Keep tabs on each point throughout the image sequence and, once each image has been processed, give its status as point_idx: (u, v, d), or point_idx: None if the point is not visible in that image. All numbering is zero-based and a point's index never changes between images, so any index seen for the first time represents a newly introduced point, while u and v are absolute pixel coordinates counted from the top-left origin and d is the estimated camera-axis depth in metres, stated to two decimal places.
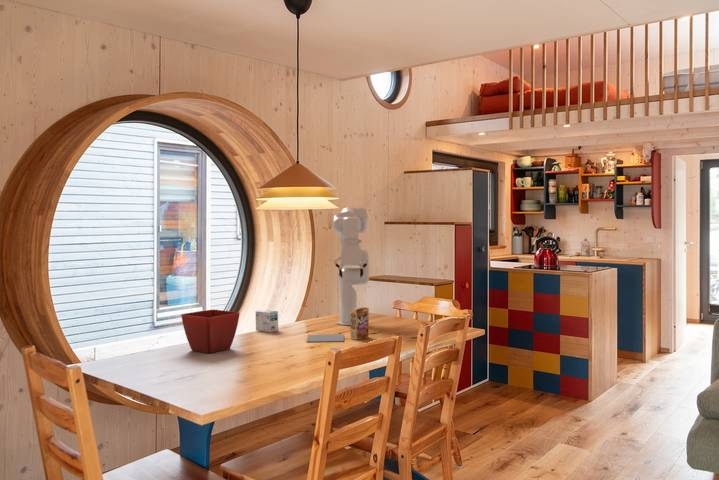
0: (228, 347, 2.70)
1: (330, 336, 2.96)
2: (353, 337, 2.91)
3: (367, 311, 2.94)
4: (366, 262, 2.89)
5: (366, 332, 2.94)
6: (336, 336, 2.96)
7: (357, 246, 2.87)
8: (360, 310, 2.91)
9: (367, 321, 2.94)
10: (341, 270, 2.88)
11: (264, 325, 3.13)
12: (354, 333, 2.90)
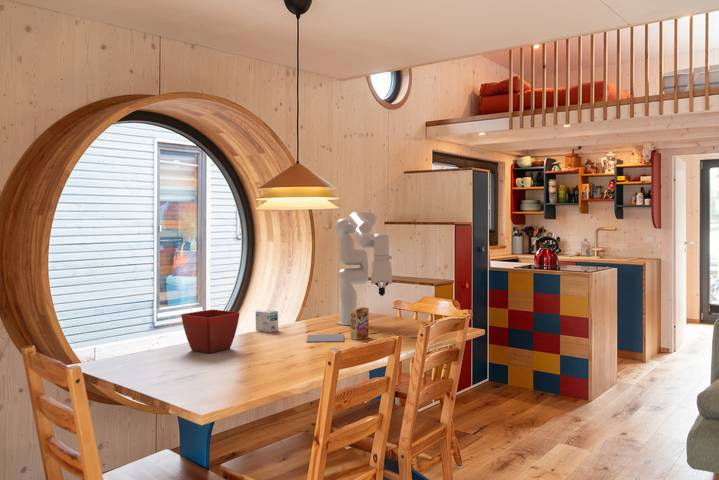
0: (228, 347, 2.70)
1: (330, 336, 2.96)
2: (353, 337, 2.91)
3: (367, 311, 2.94)
4: (389, 282, 2.92)
5: (366, 332, 2.94)
6: (336, 336, 2.96)
7: (388, 262, 2.91)
8: (360, 310, 2.91)
9: (367, 321, 2.94)
10: (381, 289, 2.91)
11: (264, 325, 3.13)
12: (354, 333, 2.90)
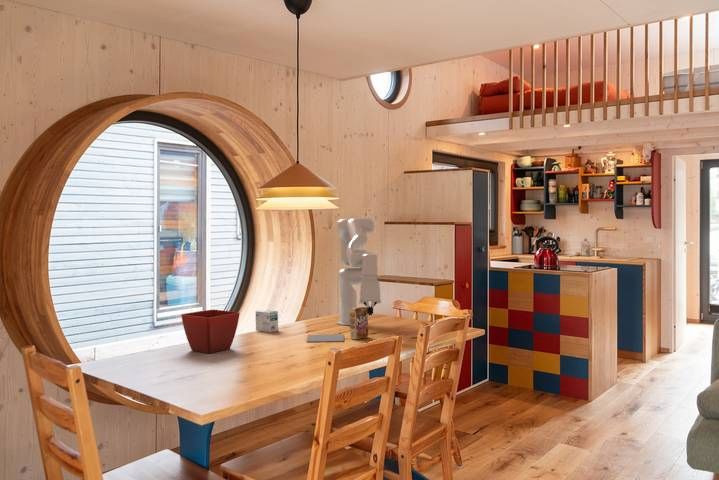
0: (228, 347, 2.70)
1: (330, 336, 2.96)
2: (353, 337, 2.91)
3: (366, 310, 2.95)
4: (377, 302, 2.93)
5: (366, 331, 2.94)
6: (336, 336, 2.96)
7: (376, 282, 2.91)
8: (359, 309, 2.91)
9: (366, 321, 2.95)
10: (369, 308, 2.92)
11: (264, 325, 3.13)
12: (354, 333, 2.90)
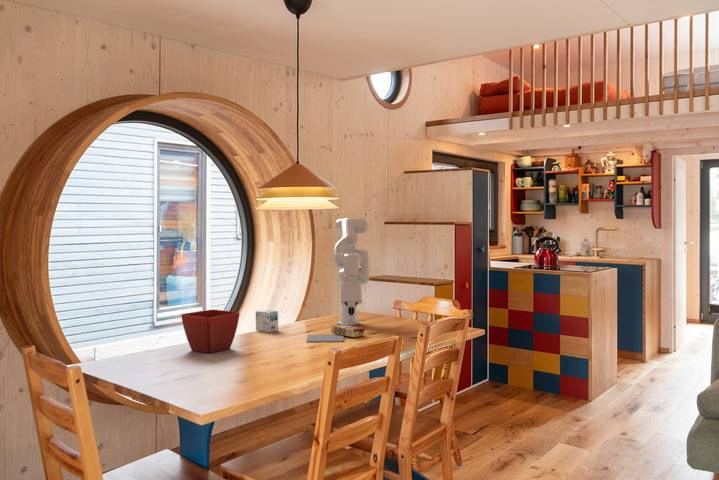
0: (228, 347, 2.70)
1: (330, 336, 2.96)
2: (351, 332, 2.94)
3: (343, 325, 3.08)
4: (358, 302, 2.93)
5: (358, 327, 3.01)
6: (336, 336, 2.96)
7: (357, 282, 2.91)
8: (336, 325, 3.05)
9: (351, 326, 3.04)
10: (350, 308, 2.92)
11: (264, 325, 3.13)
12: (348, 330, 2.95)
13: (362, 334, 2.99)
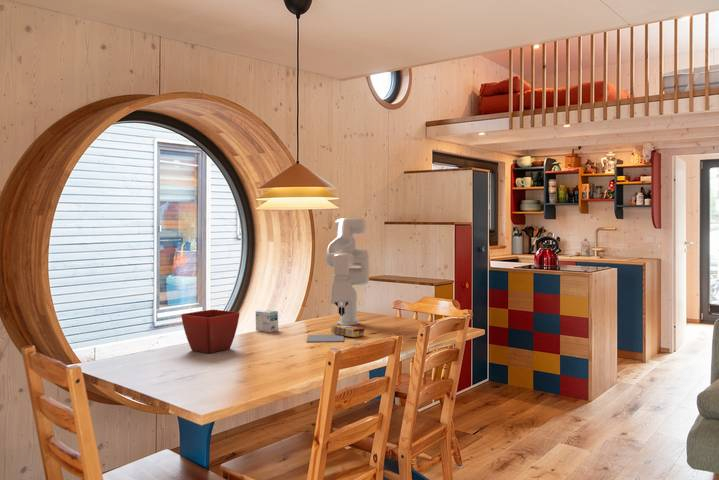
0: (228, 347, 2.70)
1: (330, 336, 2.96)
2: (351, 332, 2.94)
3: (343, 325, 3.08)
4: (349, 302, 2.92)
5: (358, 327, 3.01)
6: (336, 336, 2.96)
7: (347, 283, 2.90)
8: (336, 325, 3.05)
9: (351, 326, 3.04)
10: (340, 309, 2.91)
11: (264, 325, 3.13)
12: (348, 330, 2.95)
13: (362, 334, 2.99)
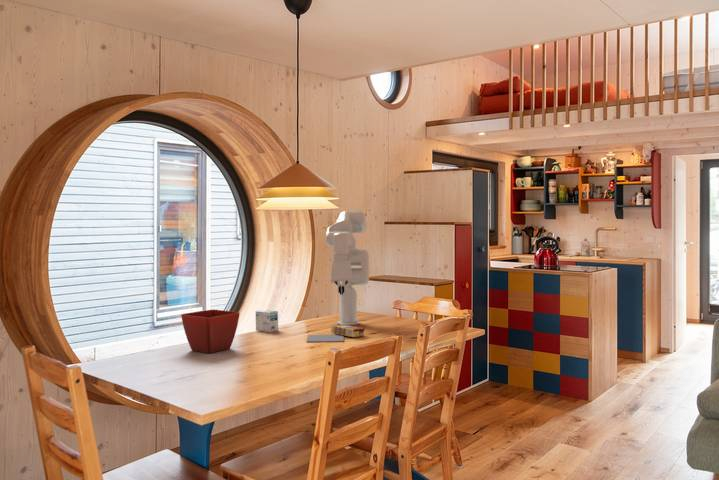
0: (228, 347, 2.70)
1: (330, 336, 2.96)
2: (351, 332, 2.94)
3: (343, 325, 3.08)
4: (349, 281, 2.92)
5: (358, 327, 3.01)
6: (336, 336, 2.96)
7: (347, 261, 2.90)
8: (336, 325, 3.05)
9: (351, 326, 3.04)
10: (340, 287, 2.91)
11: (264, 325, 3.13)
12: (348, 330, 2.95)
13: (362, 334, 2.99)
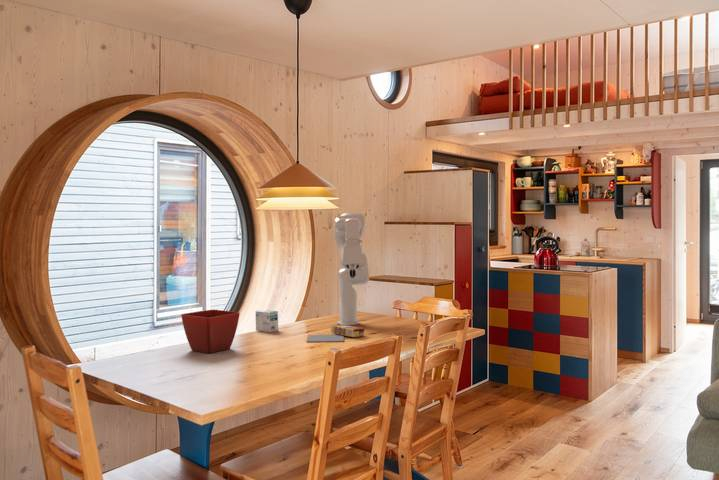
0: (228, 347, 2.70)
1: (330, 336, 2.96)
2: (351, 332, 2.94)
3: (343, 325, 3.08)
4: (359, 265, 3.06)
5: (358, 327, 3.01)
6: (336, 336, 2.96)
7: (358, 246, 3.04)
8: (336, 325, 3.05)
9: (351, 326, 3.04)
10: (351, 271, 3.05)
11: (264, 325, 3.13)
12: (348, 330, 2.95)
13: (362, 334, 2.99)
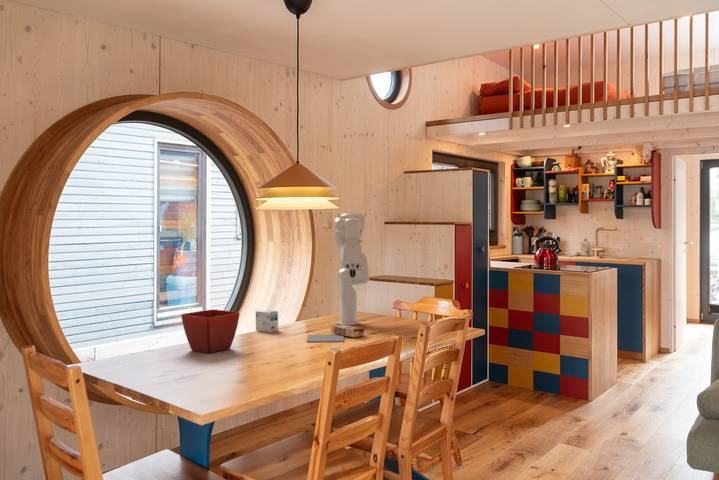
0: (228, 347, 2.70)
1: (330, 336, 2.96)
2: (351, 332, 2.94)
3: (343, 325, 3.08)
4: (360, 265, 3.06)
5: (358, 327, 3.01)
6: (336, 336, 2.96)
7: (358, 246, 3.04)
8: (336, 325, 3.05)
9: (351, 326, 3.04)
10: (351, 271, 3.05)
11: (264, 325, 3.13)
12: (348, 330, 2.95)
13: (362, 334, 2.99)
